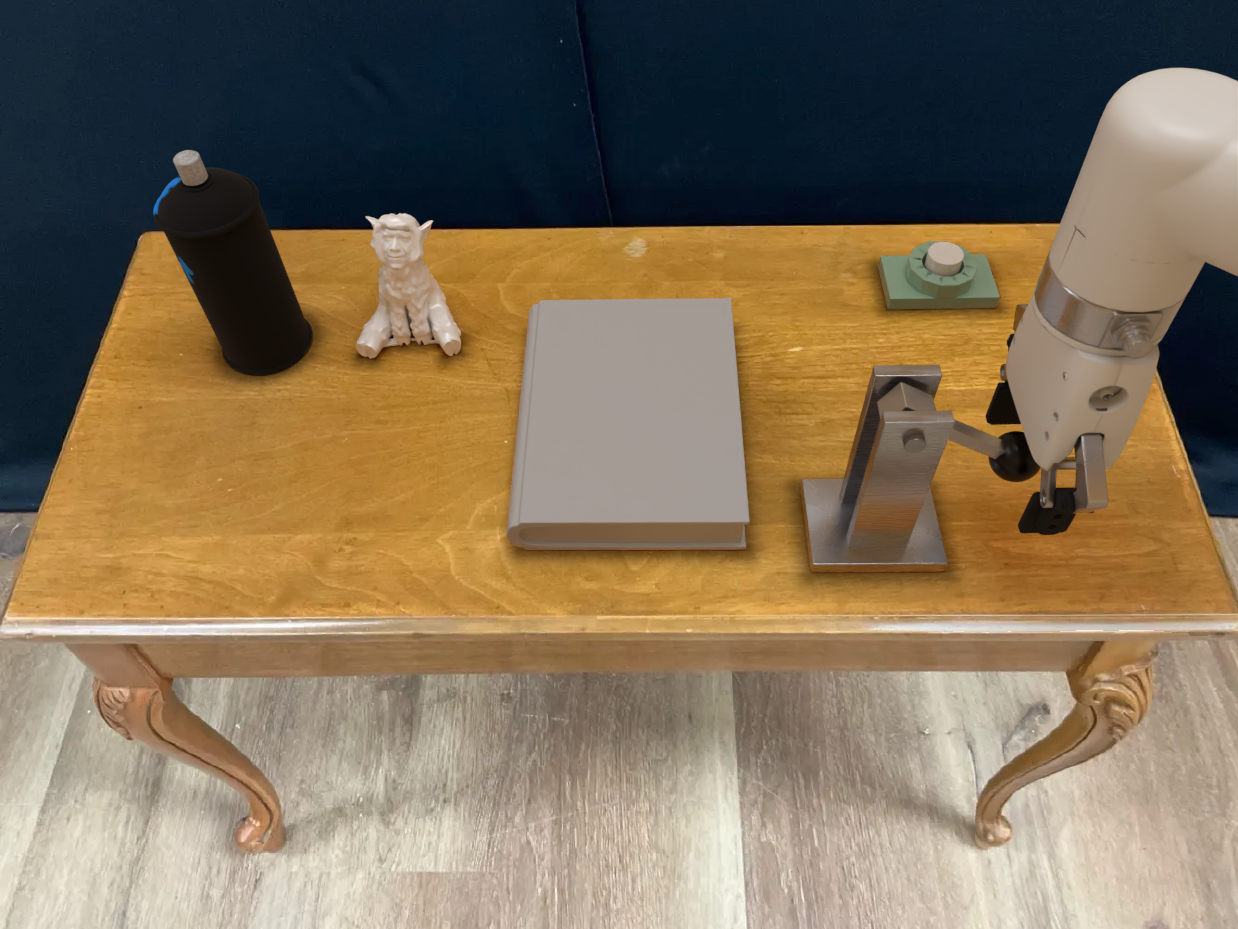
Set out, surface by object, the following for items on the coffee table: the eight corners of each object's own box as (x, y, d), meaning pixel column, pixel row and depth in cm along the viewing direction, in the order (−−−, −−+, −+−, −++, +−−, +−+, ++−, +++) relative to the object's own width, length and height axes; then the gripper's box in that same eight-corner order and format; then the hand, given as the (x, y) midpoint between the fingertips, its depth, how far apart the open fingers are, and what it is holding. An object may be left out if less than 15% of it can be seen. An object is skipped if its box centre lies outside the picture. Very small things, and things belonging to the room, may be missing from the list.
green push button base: (981, 264, 93) (990, 240, 91) (996, 308, 90) (1005, 284, 87) (877, 266, 94) (883, 241, 91) (887, 310, 90) (893, 285, 87)
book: (731, 297, 86) (749, 521, 71) (728, 328, 89) (745, 550, 74) (526, 299, 86) (503, 522, 72) (530, 330, 89) (509, 550, 75)
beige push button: (956, 254, 90) (960, 240, 89) (963, 277, 89) (967, 264, 87) (921, 254, 91) (925, 241, 89) (927, 277, 89) (931, 264, 87)
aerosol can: (324, 314, 92) (255, 127, 76) (298, 378, 87) (219, 193, 71) (240, 310, 92) (155, 123, 76) (209, 373, 87) (111, 188, 71)
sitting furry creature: (357, 362, 88) (321, 259, 78) (368, 296, 93) (336, 192, 83) (462, 357, 88) (439, 253, 78) (467, 292, 93) (446, 187, 83)
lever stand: (924, 486, 78) (977, 347, 65) (944, 572, 73) (1005, 440, 60) (799, 487, 78) (828, 349, 65) (810, 572, 73) (843, 441, 60)
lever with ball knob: (1008, 457, 71) (1047, 430, 68) (1020, 497, 69) (1061, 471, 66) (869, 399, 66) (905, 367, 63) (876, 440, 64) (915, 409, 61)
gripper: (1231, 403, 50) (1113, 576, 64) (1126, 196, 61) (1044, 382, 74) (1083, 406, 50) (997, 578, 64) (1005, 200, 61) (945, 385, 75)
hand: (1023, 473), depth 69 cm, fingers open, 9 cm apart
